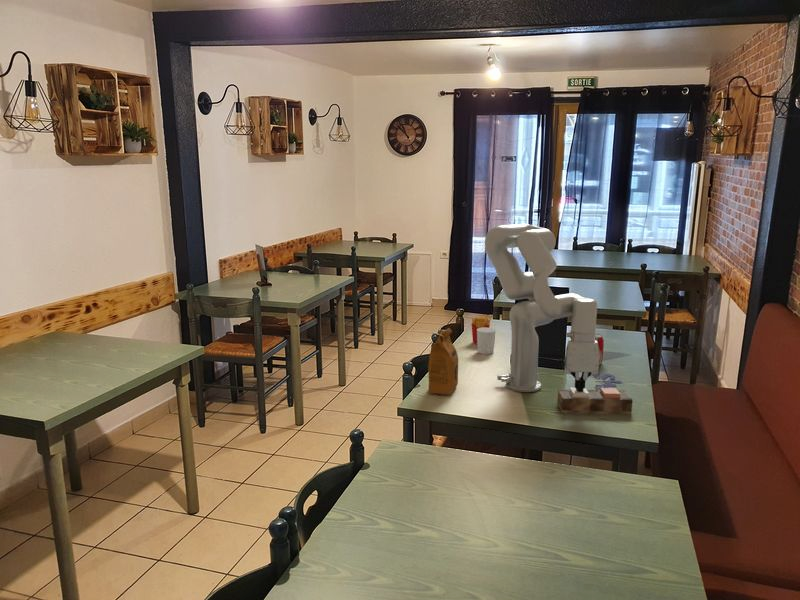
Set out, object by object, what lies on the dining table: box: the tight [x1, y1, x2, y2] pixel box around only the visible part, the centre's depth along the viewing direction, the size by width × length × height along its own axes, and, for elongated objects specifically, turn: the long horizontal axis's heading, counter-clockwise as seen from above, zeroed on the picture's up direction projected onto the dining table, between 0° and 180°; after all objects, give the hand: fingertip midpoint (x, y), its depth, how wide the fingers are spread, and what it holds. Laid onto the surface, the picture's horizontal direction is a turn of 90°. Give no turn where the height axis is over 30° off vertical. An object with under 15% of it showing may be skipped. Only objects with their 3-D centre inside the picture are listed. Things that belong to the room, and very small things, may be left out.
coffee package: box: [427, 327, 459, 396], centre depth 214 cm, size 10×12×22 cm
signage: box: [593, 372, 623, 390], centre depth 219 cm, size 28×1×10 cm
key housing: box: [556, 389, 634, 415], centre depth 199 cm, size 22×8×5 cm, turn 87°
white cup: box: [477, 327, 496, 355], centre depth 260 cm, size 8×8×10 cm
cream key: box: [569, 386, 589, 398], centre depth 199 cm, size 5×5×4 cm
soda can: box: [595, 332, 605, 366], centre depth 244 cm, size 7×7×12 cm
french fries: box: [471, 316, 491, 344], centre depth 273 cm, size 8×4×12 cm, turn 71°
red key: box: [600, 387, 620, 398], centre depth 198 cm, size 5×5×4 cm
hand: (579, 390), depth 198 cm, fingers closed
